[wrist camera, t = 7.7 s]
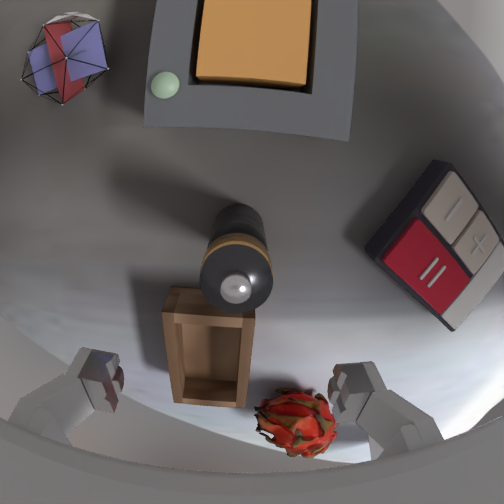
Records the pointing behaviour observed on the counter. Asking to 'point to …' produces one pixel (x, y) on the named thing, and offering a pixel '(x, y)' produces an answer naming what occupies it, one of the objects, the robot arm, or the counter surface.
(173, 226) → the counter surface
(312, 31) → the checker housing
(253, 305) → the battery cell
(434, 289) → the calculator
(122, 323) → the counter surface
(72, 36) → the geometric puzzle
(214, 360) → the box
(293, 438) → the dragon fruit
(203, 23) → the button
